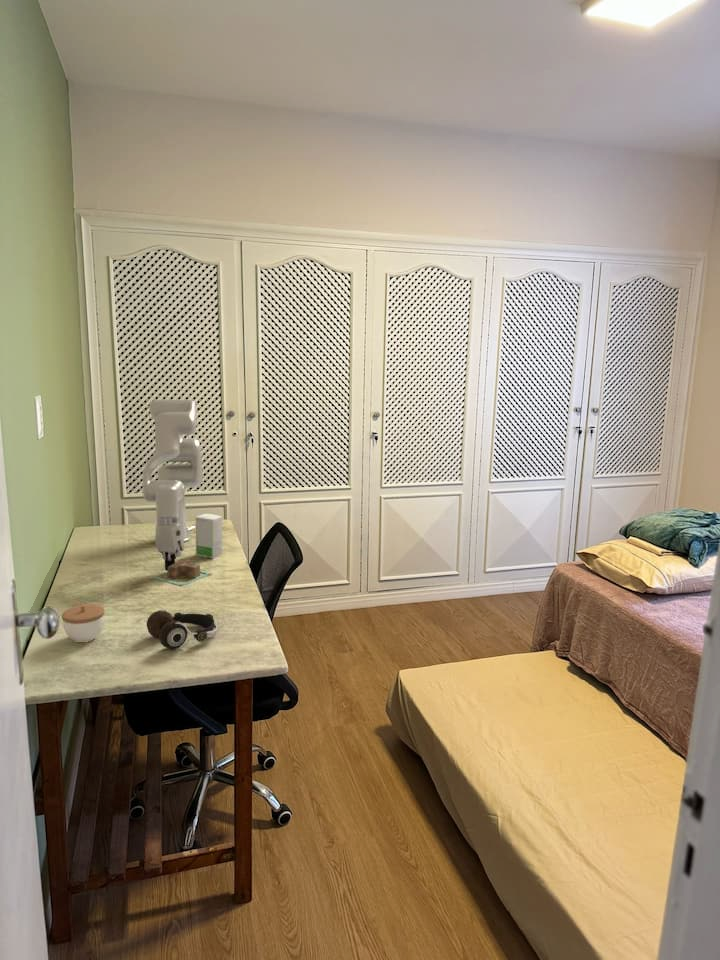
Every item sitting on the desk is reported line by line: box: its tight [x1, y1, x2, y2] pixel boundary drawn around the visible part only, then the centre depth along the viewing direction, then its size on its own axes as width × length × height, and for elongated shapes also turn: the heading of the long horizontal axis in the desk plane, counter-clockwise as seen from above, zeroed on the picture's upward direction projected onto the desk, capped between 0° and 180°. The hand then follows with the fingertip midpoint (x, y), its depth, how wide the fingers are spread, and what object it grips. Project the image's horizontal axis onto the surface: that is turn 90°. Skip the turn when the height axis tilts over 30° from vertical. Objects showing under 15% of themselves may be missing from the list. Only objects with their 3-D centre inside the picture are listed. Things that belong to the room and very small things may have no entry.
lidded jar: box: [61, 603, 105, 643], centre depth 178 cm, size 11×11×9 cm
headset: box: [146, 608, 218, 651], centre depth 181 cm, size 17×8×20 cm
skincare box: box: [195, 513, 223, 559], centre depth 248 cm, size 8×7×16 cm
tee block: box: [167, 558, 201, 580], centre depth 227 cm, size 9×9×4 cm
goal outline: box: [153, 570, 211, 587], centre depth 227 cm, size 14×14×1 cm
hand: (170, 569), depth 230 cm, fingers closed
